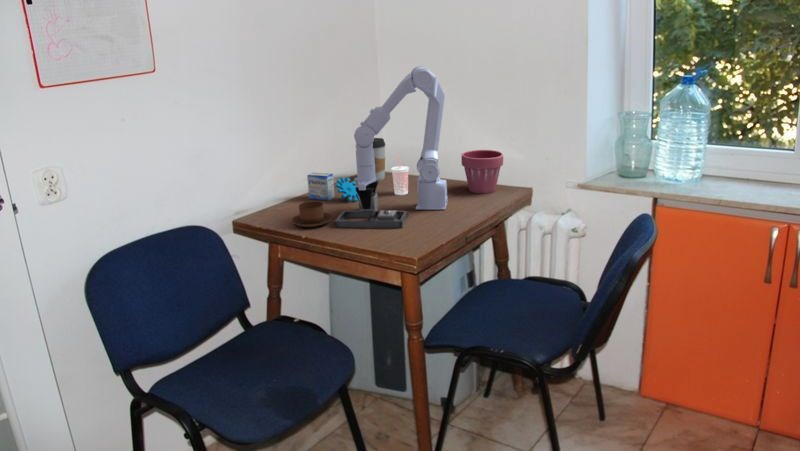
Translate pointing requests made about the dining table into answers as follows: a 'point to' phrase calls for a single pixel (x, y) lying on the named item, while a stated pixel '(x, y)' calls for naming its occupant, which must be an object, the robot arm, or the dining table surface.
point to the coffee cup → (379, 158)
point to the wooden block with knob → (387, 215)
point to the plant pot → (482, 169)
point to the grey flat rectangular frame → (370, 222)
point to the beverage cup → (400, 179)
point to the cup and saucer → (311, 215)
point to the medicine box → (320, 186)
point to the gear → (347, 189)
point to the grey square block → (373, 203)
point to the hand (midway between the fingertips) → (368, 206)
